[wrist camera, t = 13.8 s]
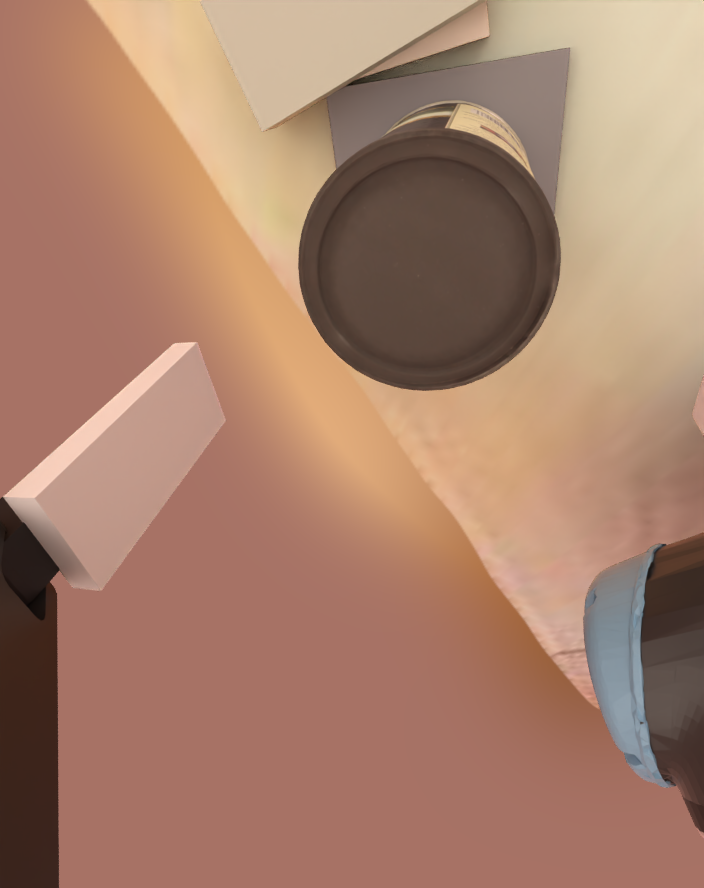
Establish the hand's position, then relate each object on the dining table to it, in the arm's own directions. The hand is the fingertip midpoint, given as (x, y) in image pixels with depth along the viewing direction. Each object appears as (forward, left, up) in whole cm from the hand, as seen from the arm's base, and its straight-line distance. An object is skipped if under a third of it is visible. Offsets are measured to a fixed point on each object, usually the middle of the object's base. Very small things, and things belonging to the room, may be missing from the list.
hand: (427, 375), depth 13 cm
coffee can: (0, +1, -22) cm, 22 cm away
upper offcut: (+10, +5, -21) cm, 24 cm away
